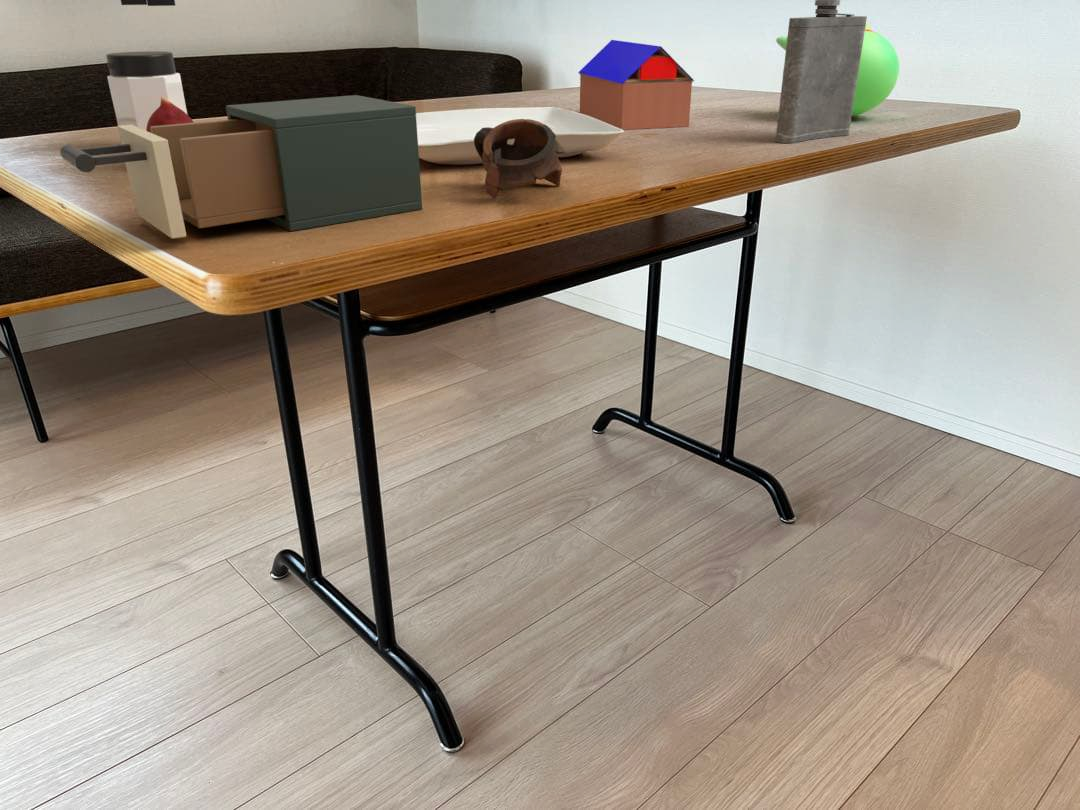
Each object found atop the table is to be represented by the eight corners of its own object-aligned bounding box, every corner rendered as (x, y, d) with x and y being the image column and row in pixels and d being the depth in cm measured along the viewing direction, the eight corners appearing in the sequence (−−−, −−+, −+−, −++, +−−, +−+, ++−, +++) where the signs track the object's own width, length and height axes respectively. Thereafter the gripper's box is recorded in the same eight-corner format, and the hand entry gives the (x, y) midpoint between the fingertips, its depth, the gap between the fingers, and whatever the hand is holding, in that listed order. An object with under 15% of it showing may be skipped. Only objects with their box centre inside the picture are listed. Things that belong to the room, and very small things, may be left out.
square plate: (554, 129, 128) (554, 103, 126) (626, 160, 104) (628, 127, 103) (377, 139, 120) (375, 111, 118) (413, 174, 97) (411, 139, 95)
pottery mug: (586, 192, 90) (581, 129, 83) (530, 244, 87) (520, 184, 80) (504, 151, 95) (493, 89, 88) (448, 200, 92) (432, 139, 85)
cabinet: (290, 231, 74) (274, 118, 70) (242, 207, 83) (225, 105, 78) (422, 209, 81) (415, 106, 77) (365, 188, 90) (356, 95, 86)
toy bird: (797, 125, 131) (810, 22, 124) (763, 111, 146) (773, 19, 139) (907, 123, 132) (926, 21, 126) (862, 109, 147) (877, 18, 141)
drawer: (102, 250, 66) (77, 148, 62) (73, 223, 73) (49, 131, 70) (313, 215, 75) (302, 126, 72) (268, 195, 83) (256, 113, 80)
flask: (766, 140, 118) (782, -1, 110) (832, 131, 125) (851, -2, 117) (786, 143, 115) (804, -1, 107) (853, 134, 122) (874, -2, 114)
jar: (145, 141, 119) (126, 51, 114) (200, 141, 119) (184, 51, 114) (113, 152, 111) (91, 55, 106) (172, 152, 111) (153, 55, 106)
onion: (210, 161, 105) (198, 94, 102) (192, 170, 100) (179, 100, 96) (165, 161, 105) (151, 94, 102) (145, 170, 100) (130, 100, 97)
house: (641, 110, 147) (644, 39, 142) (691, 126, 130) (697, 45, 125) (577, 113, 144) (578, 40, 139) (620, 130, 127) (623, 47, 122)
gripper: (172, -253, 79) (214, 5, 89) (112, -210, 95) (153, 4, 105) (86, -266, 75) (140, 6, 84) (39, -219, 91) (89, 4, 101)
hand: (147, 5), depth 95 cm, fingers open, 11 cm apart
